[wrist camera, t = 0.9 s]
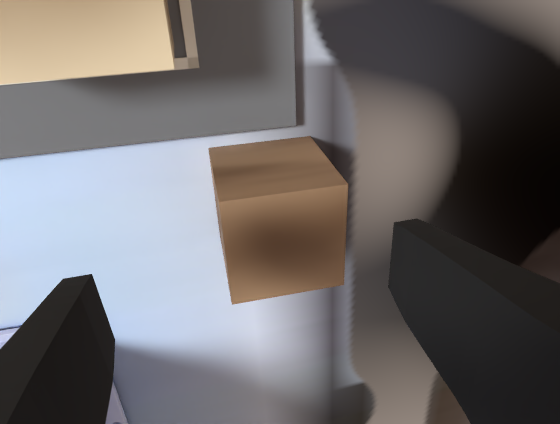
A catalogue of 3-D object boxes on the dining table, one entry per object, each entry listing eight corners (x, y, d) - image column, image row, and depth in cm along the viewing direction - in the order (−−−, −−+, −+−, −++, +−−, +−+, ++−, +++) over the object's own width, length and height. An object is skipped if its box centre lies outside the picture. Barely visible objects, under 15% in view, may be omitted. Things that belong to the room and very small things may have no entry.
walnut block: (310, 221, 22) (343, 284, 17) (219, 235, 21) (232, 304, 17) (309, 135, 19) (347, 184, 15) (208, 147, 19) (218, 202, 14)
